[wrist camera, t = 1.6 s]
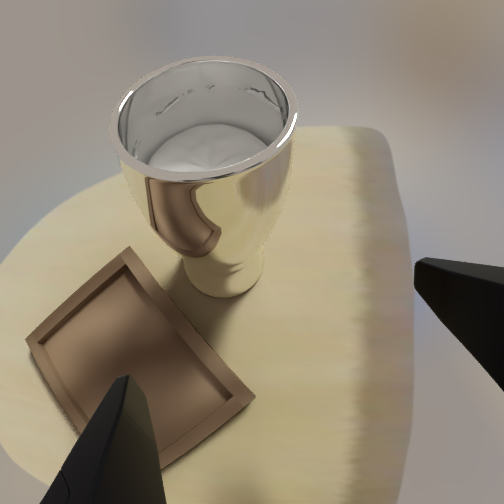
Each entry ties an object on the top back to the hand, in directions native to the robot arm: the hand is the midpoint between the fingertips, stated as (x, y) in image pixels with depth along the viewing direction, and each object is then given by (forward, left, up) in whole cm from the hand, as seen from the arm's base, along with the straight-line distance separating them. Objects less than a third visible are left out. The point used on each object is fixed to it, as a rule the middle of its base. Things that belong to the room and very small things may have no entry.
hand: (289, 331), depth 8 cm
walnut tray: (+5, +8, -14) cm, 17 cm away
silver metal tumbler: (+7, -3, -14) cm, 16 cm away
